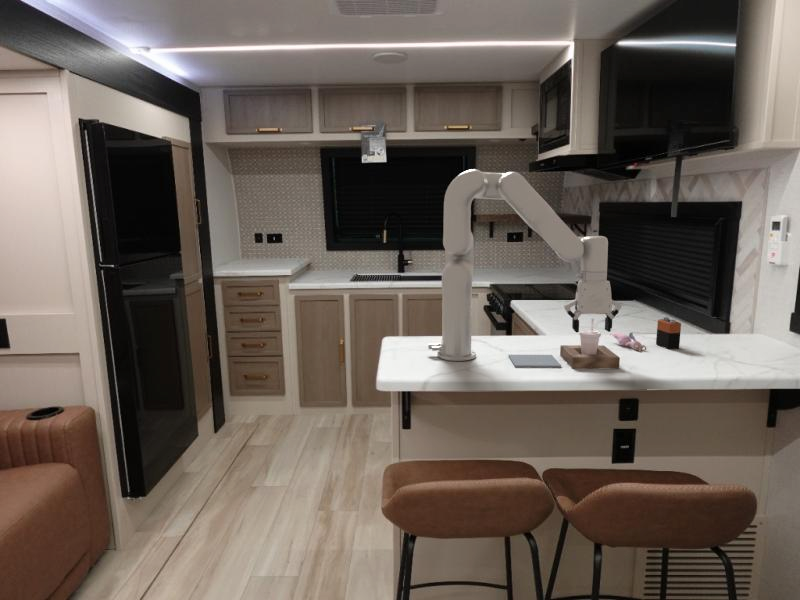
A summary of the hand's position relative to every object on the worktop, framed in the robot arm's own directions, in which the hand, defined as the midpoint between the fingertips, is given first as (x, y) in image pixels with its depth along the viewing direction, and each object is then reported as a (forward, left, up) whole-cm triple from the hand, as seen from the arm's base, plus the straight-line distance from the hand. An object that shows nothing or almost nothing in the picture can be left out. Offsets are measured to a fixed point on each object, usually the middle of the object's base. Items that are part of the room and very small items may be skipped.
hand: (591, 331), depth 165 cm
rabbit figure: (+19, +19, -10) cm, 29 cm away
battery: (+32, +19, -10) cm, 39 cm away
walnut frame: (-1, 0, -10) cm, 10 cm away
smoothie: (-1, 0, -10) cm, 10 cm away
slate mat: (-18, 0, -10) cm, 20 cm away
